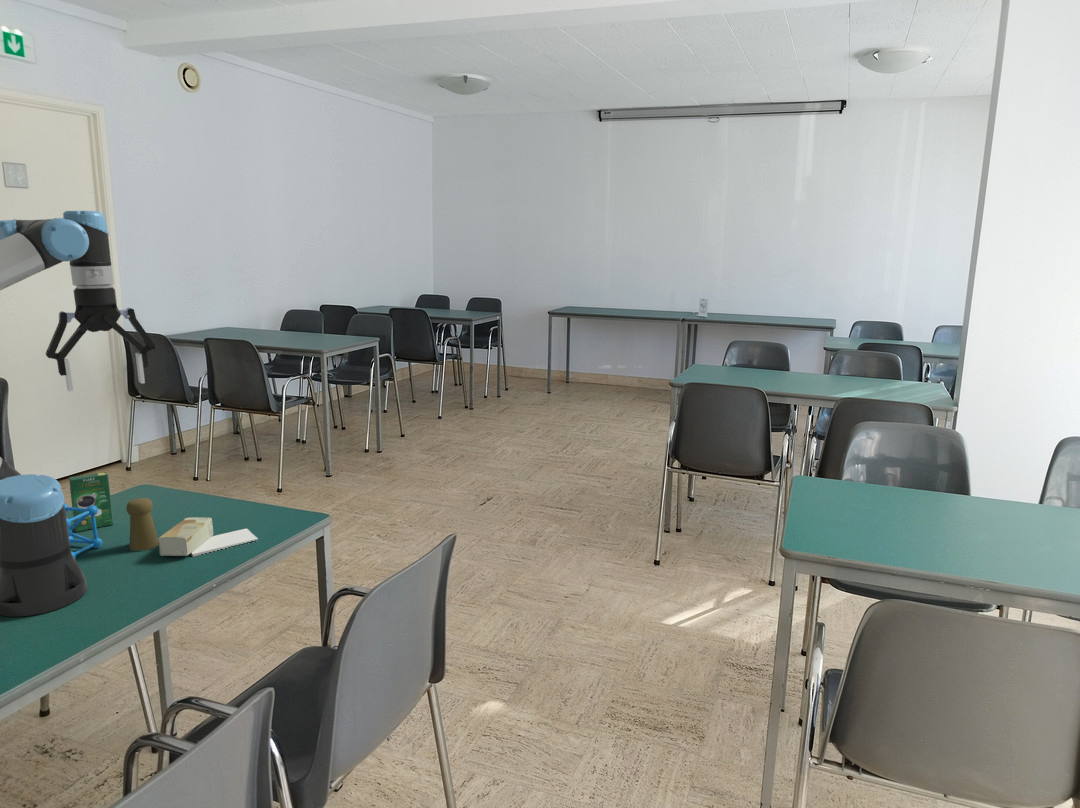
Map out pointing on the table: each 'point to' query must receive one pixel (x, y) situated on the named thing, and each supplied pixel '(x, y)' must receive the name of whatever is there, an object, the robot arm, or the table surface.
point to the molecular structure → (89, 511)
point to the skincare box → (185, 536)
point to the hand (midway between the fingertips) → (107, 386)
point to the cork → (141, 525)
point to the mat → (224, 541)
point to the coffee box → (91, 499)
